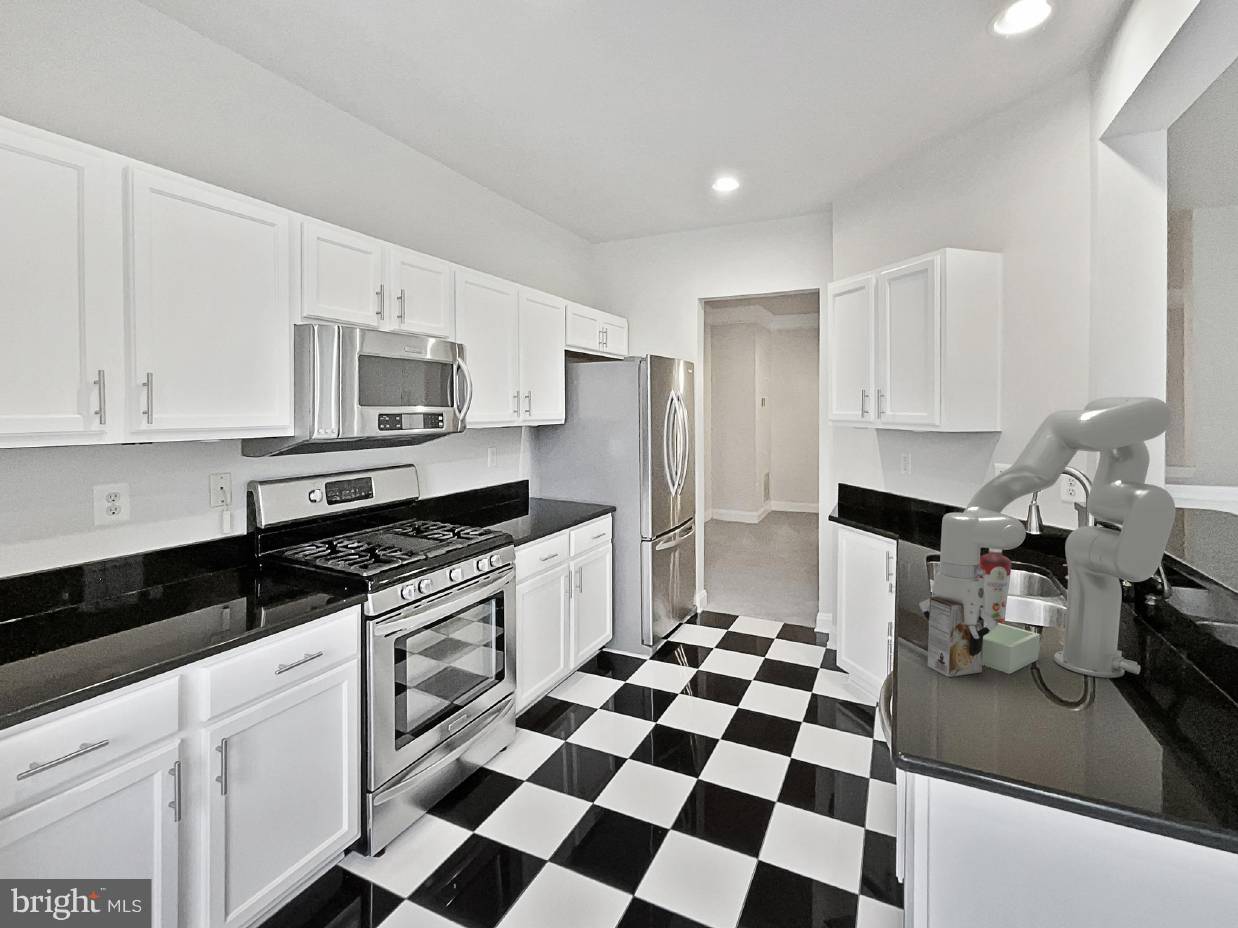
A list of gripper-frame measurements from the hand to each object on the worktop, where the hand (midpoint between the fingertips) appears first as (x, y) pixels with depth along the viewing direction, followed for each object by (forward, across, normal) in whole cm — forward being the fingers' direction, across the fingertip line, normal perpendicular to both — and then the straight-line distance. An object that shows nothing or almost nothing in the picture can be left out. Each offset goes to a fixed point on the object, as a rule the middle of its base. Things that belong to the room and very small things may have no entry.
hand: (954, 647), depth 137 cm
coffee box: (+5, 0, 0) cm, 5 cm away
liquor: (+5, +7, -32) cm, 33 cm away
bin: (+5, +1, -15) cm, 16 cm away
